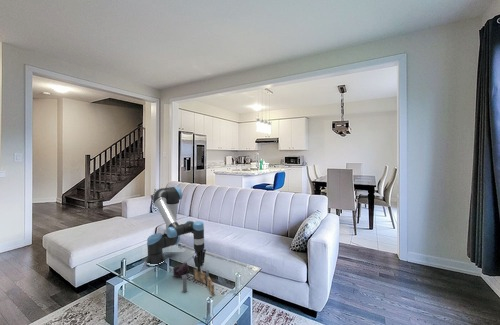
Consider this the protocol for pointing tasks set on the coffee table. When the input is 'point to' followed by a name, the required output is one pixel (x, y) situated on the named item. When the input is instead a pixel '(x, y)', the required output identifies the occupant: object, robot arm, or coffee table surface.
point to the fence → (210, 285)
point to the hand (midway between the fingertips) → (200, 274)
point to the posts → (184, 281)
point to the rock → (181, 270)
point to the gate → (200, 276)
